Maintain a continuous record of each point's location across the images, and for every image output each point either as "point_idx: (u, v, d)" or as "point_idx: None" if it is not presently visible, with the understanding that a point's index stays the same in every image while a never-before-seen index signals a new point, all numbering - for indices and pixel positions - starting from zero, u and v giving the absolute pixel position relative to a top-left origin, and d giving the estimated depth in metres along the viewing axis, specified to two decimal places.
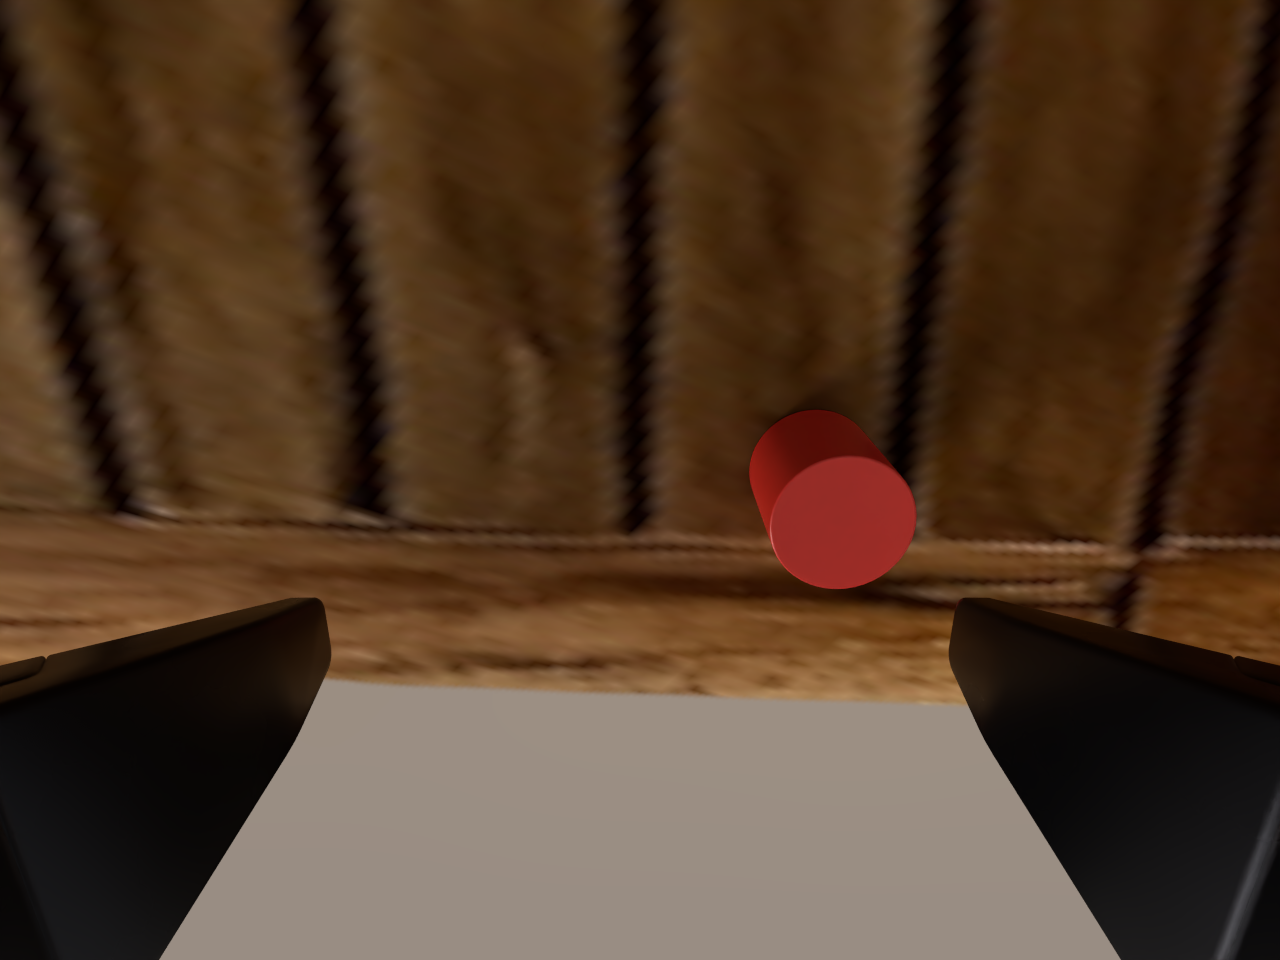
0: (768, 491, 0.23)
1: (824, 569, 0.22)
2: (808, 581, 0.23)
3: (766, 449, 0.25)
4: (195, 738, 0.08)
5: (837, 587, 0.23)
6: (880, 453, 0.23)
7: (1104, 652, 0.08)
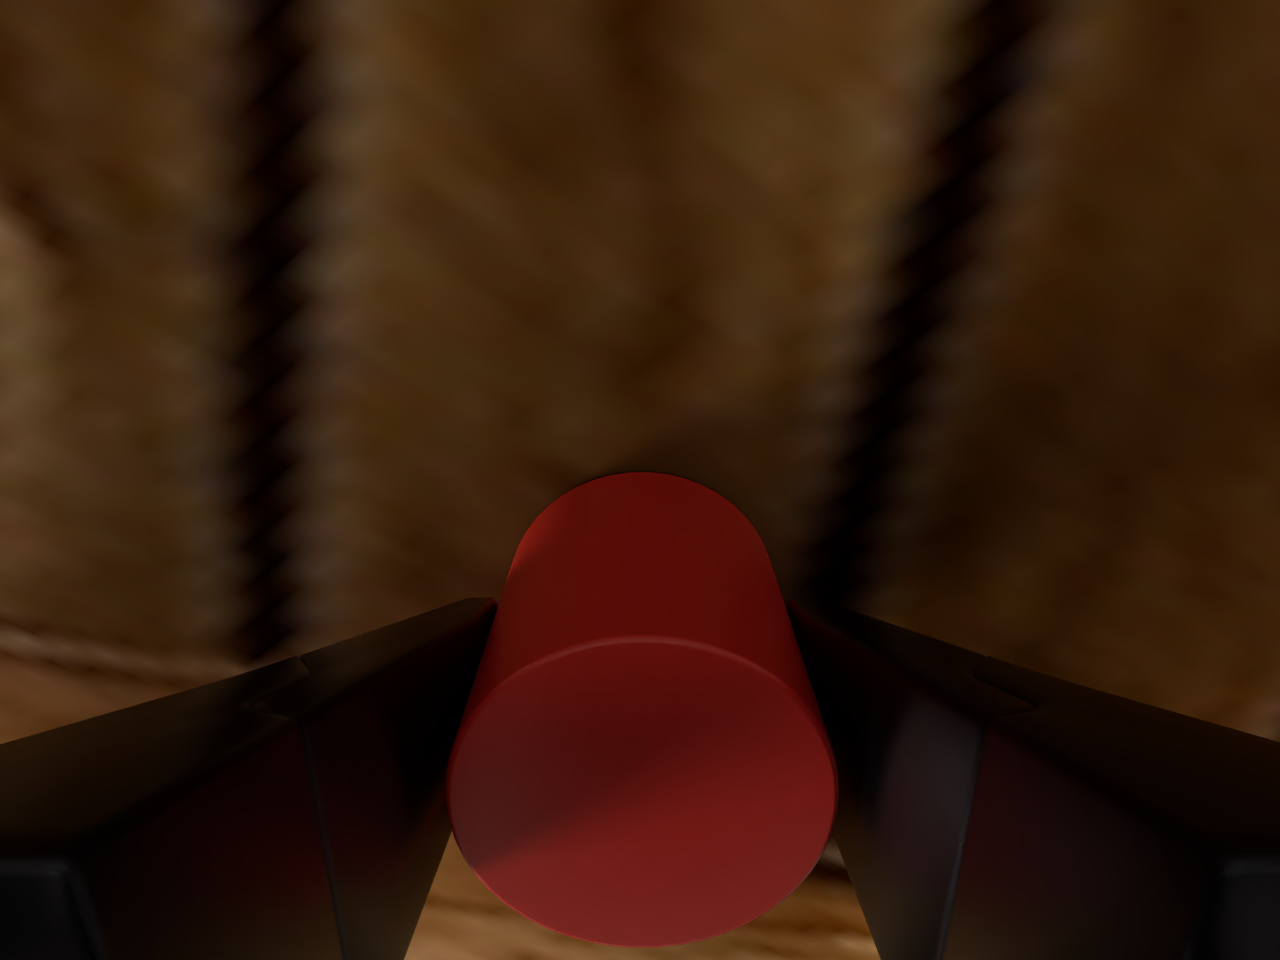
0: (476, 675, 0.09)
1: (583, 901, 0.09)
2: (540, 921, 0.09)
3: (530, 548, 0.11)
4: (429, 738, 0.08)
5: (613, 943, 0.09)
6: (775, 620, 0.09)
7: (867, 652, 0.08)
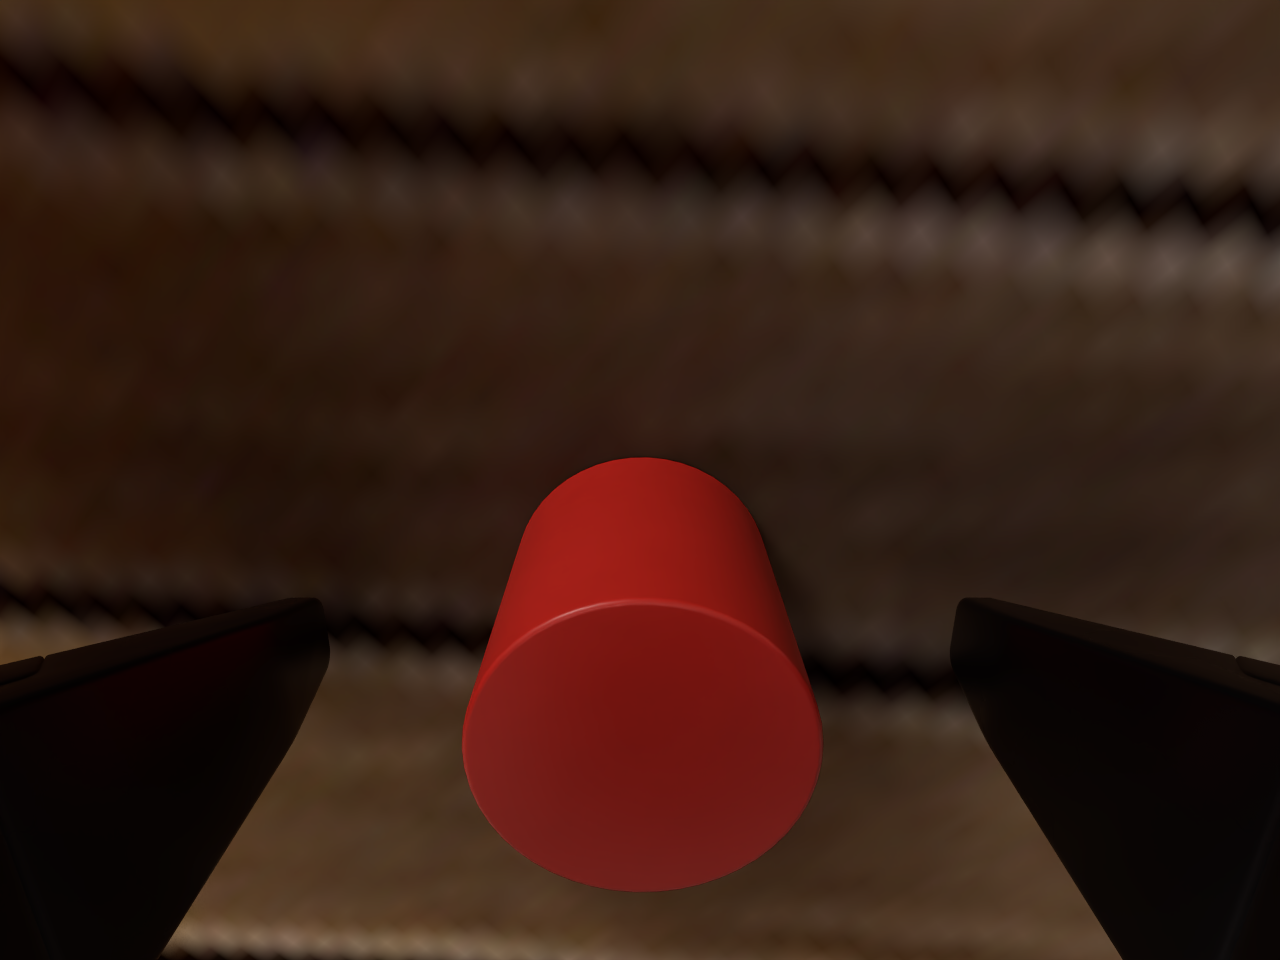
0: (490, 639, 0.10)
1: (588, 848, 0.09)
2: (548, 867, 0.09)
3: (537, 527, 0.11)
4: (193, 738, 0.08)
5: (616, 888, 0.10)
6: (765, 590, 0.10)
7: (1106, 652, 0.08)
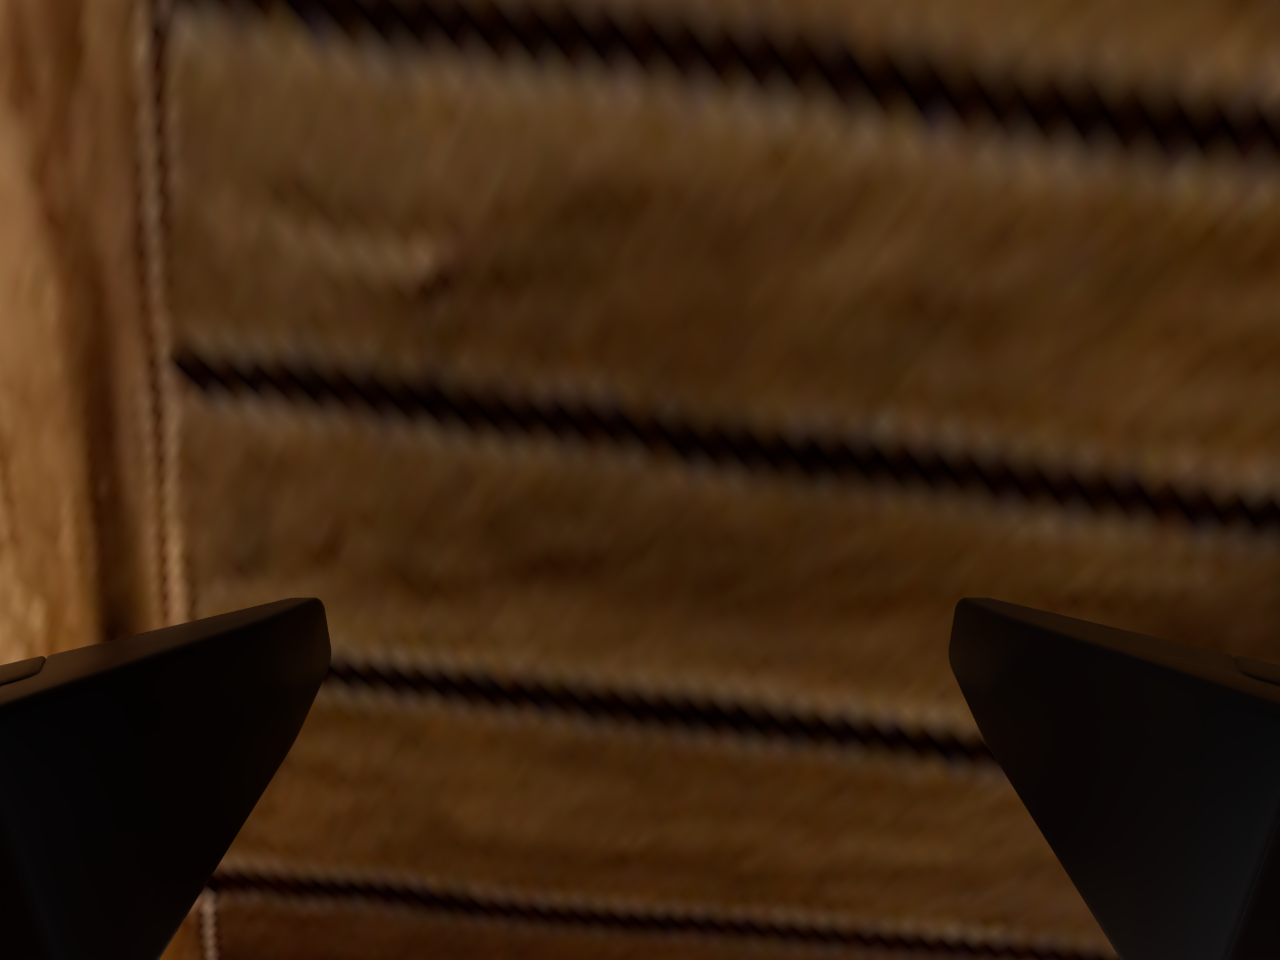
0: None
1: None
2: None
3: None
4: (195, 738, 0.08)
5: None
6: None
7: (1104, 652, 0.08)
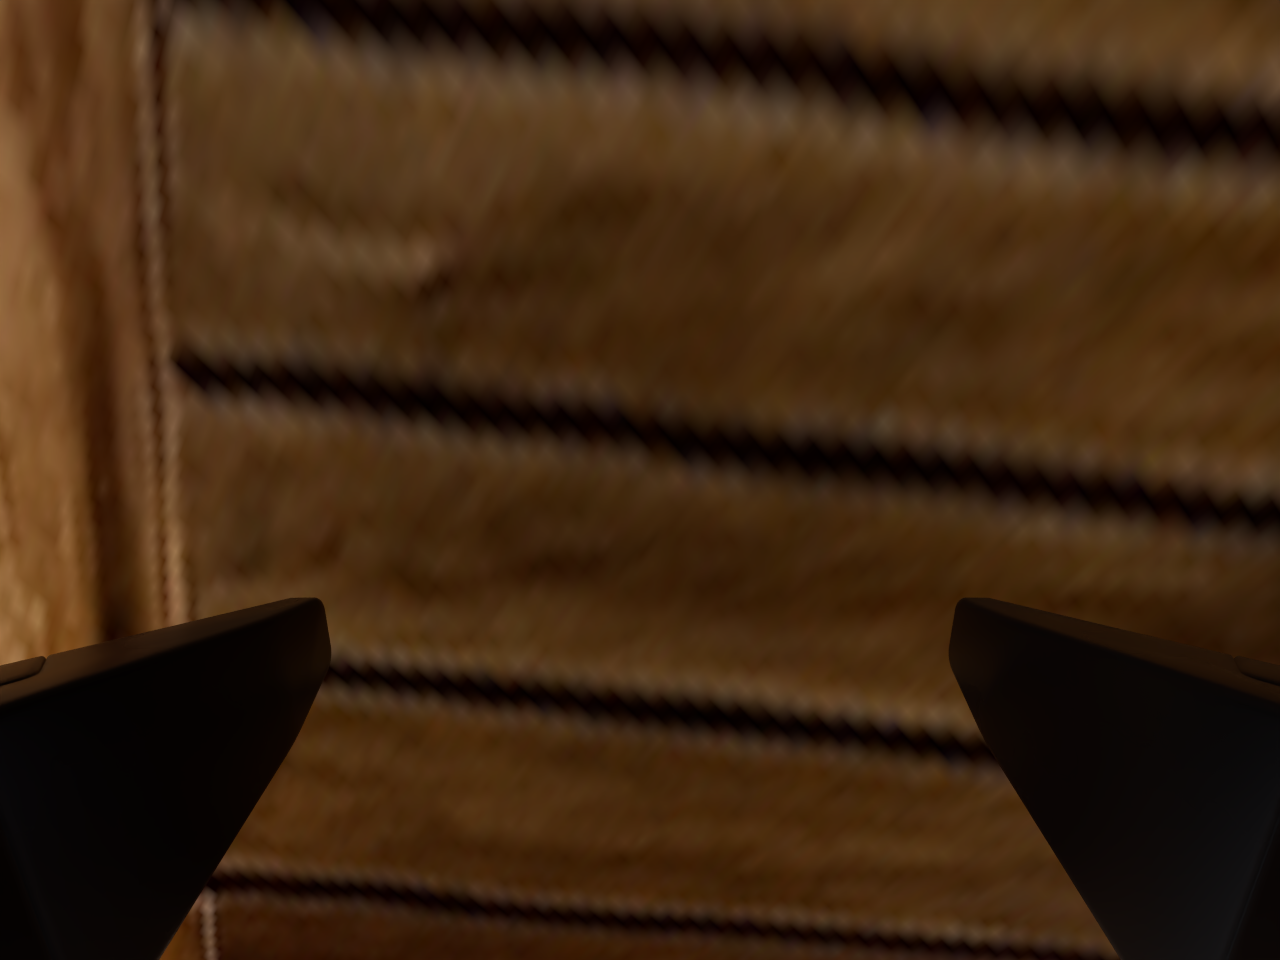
0: None
1: None
2: None
3: None
4: (195, 738, 0.08)
5: None
6: None
7: (1104, 652, 0.08)
